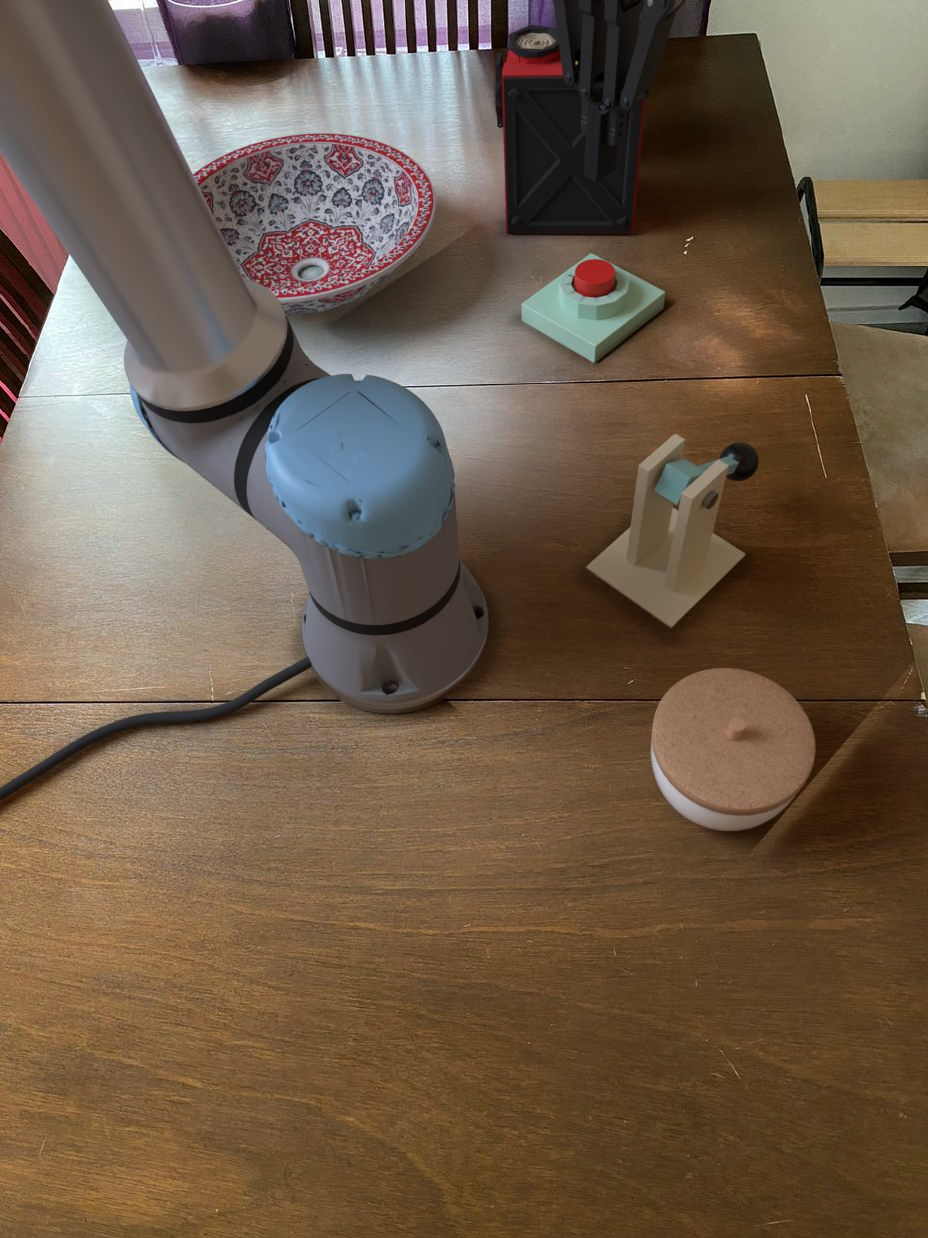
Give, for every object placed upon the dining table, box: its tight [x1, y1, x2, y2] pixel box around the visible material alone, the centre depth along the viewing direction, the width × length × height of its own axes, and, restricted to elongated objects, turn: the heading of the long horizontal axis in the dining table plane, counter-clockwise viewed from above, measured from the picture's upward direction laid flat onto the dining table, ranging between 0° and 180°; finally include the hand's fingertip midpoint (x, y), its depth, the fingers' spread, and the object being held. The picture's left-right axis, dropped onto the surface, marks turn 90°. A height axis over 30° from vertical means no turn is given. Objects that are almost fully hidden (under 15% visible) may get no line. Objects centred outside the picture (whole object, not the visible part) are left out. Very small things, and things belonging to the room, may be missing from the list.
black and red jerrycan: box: [493, 24, 646, 235], centre depth 103 cm, size 16×10×20 cm, turn 84°
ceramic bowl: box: [192, 132, 437, 315], centre depth 104 cm, size 29×29×8 cm
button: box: [574, 259, 615, 298], centre depth 97 cm, size 4×4×2 cm
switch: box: [654, 441, 760, 506], centre depth 77 cm, size 13×3×3 cm, turn 135°
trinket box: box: [650, 667, 817, 832], centre depth 67 cm, size 11×11×9 cm
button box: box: [520, 252, 666, 364], centre depth 99 cm, size 11×10×4 cm
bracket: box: [585, 433, 746, 629], centre depth 77 cm, size 10×9×13 cm
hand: (599, 172), depth 87 cm, fingers closed
